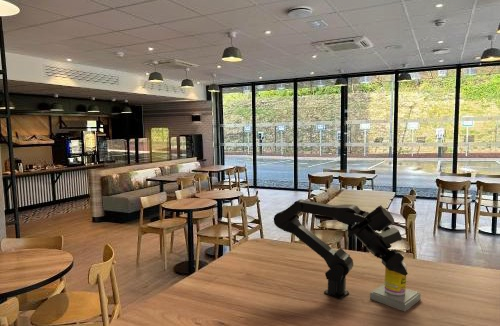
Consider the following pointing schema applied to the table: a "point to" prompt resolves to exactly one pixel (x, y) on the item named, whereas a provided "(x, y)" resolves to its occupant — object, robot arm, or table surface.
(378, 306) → the table surface
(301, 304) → the table surface
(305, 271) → the table surface
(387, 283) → the supplement bottle
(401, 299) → the slate base
